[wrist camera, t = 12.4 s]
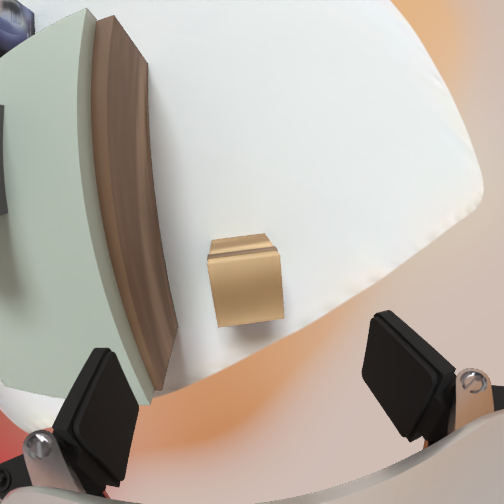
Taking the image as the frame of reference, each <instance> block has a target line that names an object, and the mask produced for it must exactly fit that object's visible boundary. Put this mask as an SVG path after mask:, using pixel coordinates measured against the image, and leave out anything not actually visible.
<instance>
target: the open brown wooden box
mask: <svg viewBox="0 0 504 504" xmlns="http://www.w3.org/2000/svg"><path fill="white" fill-rule="evenodd" d="M91 125H92V143H93V156H94V166H95V175H96V183H97V191H98V197H99V204H100V210H101V216H102V221H103V227H104V232H105V237H106V241H107V246H108V250H109V255H110V259H111V263H112V267H113V271H114V275H115V279H116V282H117V286H118V289H119V293H120V296H121V300H122V303H123V306H124V309H125V313H126V316H127V319H128V322H129V325H130V328H131V331H132V333H133V336H134V339H135V342H136V345H137V347H138V350H139V352H140V355H141V358H142V360H143V363H144V365H145V368H146V370H147V372H148V375H149V377H150V380H151V382H152V384H153V386H154V390H162V388H163V383H164V379H165V375H166V371H167V367H168V363H169V359H170V355H171V351H172V347H173V344H174V340H175V336H176V332H177V329H178V324H177V320H176V315H175V311H174V306H173V302H172V297H171V292H170V287H169V282H168V277H167V272H166V267H165V261H164V255H163V249H162V243H161V237H160V230H159V223H158V216H157V209H156V201H155V192H154V183H153V174H152V163H151V150H150V136H149V116H148V63H147V62H146V60H145V59H144V57H143V56H142V54H141V53H140V51H139V50H138V49H137V47H136V46H135V44H134V43H133V41H132V40H131V39H130V37H129V36H128V34H127V33H126V31H125V30H124V29H123V27H122V26H121V24H120V23H119V21H118V20H117V19H116V17H115V16H114V15H113V16H110V17H107V18H104V19H101V20H98V21H96V28H95V36H94V45H93V57H92V74H91Z"/></svg>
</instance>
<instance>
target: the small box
mask: <svg viewBox="0 0 504 504" xmlns="http://www.w3.org/2000/svg"><path fill="white" fill-rule="evenodd" d="M33 35H35V32H34V13H33V12H32V11H30V10H29V9H28V8H26V7H25V6H24V5H22V4H21V3H20V2H18V1H17V0H0V58H1V57H2V56H3V55H5V54H6V53H8V52H9V51H10V50H12V49H13V48H15V47H16V46H17V45H19V44H20V43H22V42H23V41H25V40H27V39H28V38H30V37H31V36H33Z"/></svg>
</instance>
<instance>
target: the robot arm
mask: <svg viewBox="0 0 504 504" xmlns="http://www.w3.org/2000/svg"><path fill="white" fill-rule="evenodd" d="M455 370H456V368H455V367H454V366H452V365H451V364H450V363H449V362H448V361H447V360H446V359H445V358H444V357H443V356H442V355H440V354H439V353H438V352H437V351H436V350H435V349H434V348H433V347H432V346H431V345H429V344H428V343H427V342H426V341H425V340H424V339H423V338H422V337H420V336H419V335H418V334H417V333H416V332H415V331H414V330H413V329H411V328H410V327H409V326H408V325H407V324H406V323H404V322H403V321H402V320H401V319H400V318H399V317H398V316H396V315H395V314H394V313H393V312H392V311H390V310H387V311H383V312H379V313H376V314H375V315H374V318H372V319H371V321H370V327H369V334H368V340H367V346H366V352H365V357H364V363H363V368H362V377H363V379H364V381H365V383H366V384H367V385H368V387H369V388H370V390H371V391H372V393H373V394H374V396H375V397H376V399H377V400H378V402H379V403H380V405H381V406H382V407H383V409H384V411H385V412H386V414H387V415H388V416H389V418H390V419H391V421H392V422H393V424H394V425H395V427H396V428H397V430H398V431H399V433H400V434H401V436H402V437H406V438H407V439H408V441H409V442H412V441H414V440H415V439H418V438H419V437H421V436H423V438H424V439H425V441H424V447H423V450H422V451H419V452H418V453H416V454H414V455H412V456H410V457H408V458H406V459H404V460H402V461H400V462H398V463H395V464H393V465H391V466H389V467H387V468H384V469H382V470H380V471H377V472H375V473H372V474H370V475H367V476H365V477H362V478H359V479H356V480H354V481H351V482H348V483H345V484H342V485H339V486H335V487H332V488H329V489H325V490H322V491H318V492H315V493H311V494H306V495H302V496H298V497H293V498H288V499H283V500H278V501H271V502H264V503H257V504H504V386H494V385H491V382H490V379H489V377H488V376H487V375H486V374H485V373H484V372H483V371H481V370H478V369H474V368H467V369H464V370H462V371H460V372H459V373H458V375H457V376H456V375H455V374H454V372H455ZM138 412H139V405H138V402H137V400H136V398H135V396H134V394H133V391H132V389H131V387H130V385H129V383H128V381H127V379H126V376H125V374H124V372H123V369H122V367H121V365H120V362H119V360H118V358H117V355H116V353H115V352H112V351H111V349H110V348H94V349H93V350H92V352H91V354H90V356H89V357H88V359H87V361H86V363H85V364H84V366H83V368H82V370H81V371H80V373H79V375H78V377H77V379H76V381H75V382H74V384H73V386H72V388H71V390H70V392H69V394H68V396H67V398H66V399H65V401H64V403H63V405H62V407H61V409H60V411H59V413H58V416H57V418H56V420H55V422H54V424H53V426H52V428H53V429H54V431H53V433H50V432H49V431H46V430H38V431H34V432H32V433H31V434H29V435H28V437H26V439H25V441H24V443H23V454H22V455H20V456H17V457H15V458H13V459H11V460H8V461H6V462H3V463H1V464H0V504H139V503H132V502H125V501H118V500H113V499H110V497H109V496H108V494H107V493H106V491H105V489H106V485H109V486H115V487H119V486H120V481H123V480H124V478H125V474H126V468H127V463H128V457H129V452H130V447H131V443H132V438H133V434H134V429H135V425H136V420H137V416H138Z"/></svg>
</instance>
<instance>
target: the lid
mask: <svg viewBox="0 0 504 504" xmlns="http://www.w3.org/2000/svg"><path fill="white" fill-rule="evenodd" d="M96 21H97V19H96V18H95V17H94V16H93V14H92V13H91V12H90V11H89V10H88V9H87V8H85V9H82V10H80V11H78V12H76V13H74V14H72V15H69V16H67V17H65V18H63V19H61V20H59V21H58V22H56V23H54V24H52V25H50V26H48V27H46V28H45V29H43V30H41V31H40V32H38V33H36V34H35V35H33V36H31V37H30V38H28V39H27V40H25V41H23V42H22V43H20V44H19V45H17V46H16V47H15V48H13V49H12V50H10V51H9V52H8V53H6V54H5V55H3V56H2V57H1V58H0V379H1V381H2V383H3V384H4V386H6V387H10V388H14V389H18V390H22V391H26V392H31V393H36V394H41V395H46V396H51V397H57V398H63V399H66V398H67V396H68V394H69V392H70V390H71V388H72V386H73V384H74V382H75V381H76V379H77V377H78V375H79V373H80V371H81V370H82V368H83V366H84V364H85V363H86V361H87V359H88V357H89V356H90V354H91V352H92V350H93V349H94V348H110V349H111V351H112V352H115V353H116V355H117V358H118V360H119V362H120V365H121V367H122V369H123V372H124V374H125V376H126V379H127V381H128V383H129V385H130V387H131V389H132V391H133V394H134V396H135V398H136V400H137V402H138V405H150V404H151V400H152V396H153V392H154V386H153V384H152V382H151V380H150V377H149V375H148V372H147V370H146V368H145V365H144V363H143V360H142V358H141V355H140V352H139V350H138V347H137V345H136V342H135V339H134V336H133V333H132V331H131V328H130V325H129V322H128V319H127V316H126V313H125V309H124V306H123V303H122V300H121V296H120V293H119V289H118V286H117V282H116V279H115V275H114V271H113V267H112V263H111V259H110V255H109V250H108V246H107V241H106V237H105V232H104V227H103V221H102V216H101V210H100V204H99V197H98V191H97V183H96V175H95V166H94V156H93V143H92V125H91V74H92V57H93V45H94V36H95V28H96Z"/></svg>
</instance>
